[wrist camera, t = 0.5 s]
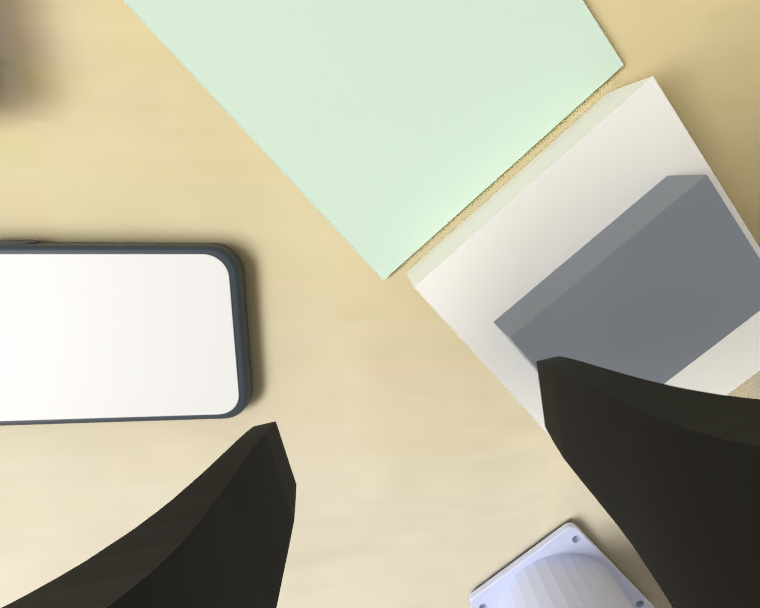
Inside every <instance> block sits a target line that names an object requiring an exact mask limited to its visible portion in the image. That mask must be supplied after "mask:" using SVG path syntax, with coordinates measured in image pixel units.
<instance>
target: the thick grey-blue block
mask: <svg viewBox="0 0 760 608" xmlns="http://www.w3.org/2000/svg"><path fill="white" fill-rule="evenodd" d="M759 311H760V258H759V257H758V255H757V254H756V252H755V250H754V249H753V247H752V246H751V244H750V243H749V241H748V239H747V238H746V236H745V235H744V233H743V231H742V230H741V228H740V227H739V225H738V223H737V222H736V220H735V219H734V217H733V215H732V214H731V212H730V211H729V209H728V207H727V206H726V204H725V203H724V201H723V200H722V198H721V196H720V195H719V193H718V192H717V190H716V188H715V187H714V185H713V184H712V182H711V180H710V179H709V177H708V176H707V175H675V176H666V177H665V178H664V179H663V180H662V181H660V182H659V183H658V184H657V185H656V186H654V187H653V188H652V189H651V190H650V191H648V192H647V193H646V194H645V195H644V196H642V197H641V198H640V199H639V200H638V201H637V202H635V203H634V204H633V205H632V206H631V207H629V208H628V209H627V210H626V211H625V212H623V213H622V214H621V215H620V216H619V217H618V218H616V219H615V220H614V221H613V222H612V223H610V224H609V225H608V226H607V227H606V228H604V229H603V230H602V231H601V232H600V233H598V234H597V235H596V236H595V237H594V238H593V239H591V240H590V241H589V242H588V243H587V244H585V245H584V246H583V247H582V248H581V249H579V250H578V251H577V252H576V253H575V254H574V255H572V256H571V257H570V258H569V259H568V260H566V261H565V262H564V263H563V264H562V265H560V266H559V267H558V268H557V269H556V270H554V271H553V272H552V273H551V274H550V275H549V276H547V277H546V278H545V279H544V280H543V281H541V282H540V283H539V284H538V285H537V286H535V287H534V288H533V289H532V290H531V291H530V292H528V293H527V294H526V295H525V296H524V297H522V298H521V299H520V300H519V301H518V302H516V303H515V304H514V305H513V306H512V307H510V308H509V309H508V310H507V311H506V312H505V313H503V314H502V315H501V316H500V317H499V318H497V319H496V320H495V321H494V323H495V325H496V326H497V327H498V328H499V329H500V330H501V332H502V333H503V334H504V335H505V336H506V337H507V338H508V340H509V341H510V342H511V343H512V344H513V345H514V346H515V348H516V349H517V350H518V351H519V352H520V353H521V354H522V356H523V357H524V358H525V359H526V360H527V361H528V362H529V364H530V365H531V366H532V367H533V368H534V369H535V370H536V372H537V373H538V370H537V363H536V361H539V360H544V359H548V358H552V357H557V356H561V357H567V358H571V359H575V360H578V361H582V362H585V363H589V364H592V365H596V366H599V367H602V368H606V369H609V370H612V371H616V372H619V373H623V374H626V375H630V376H634V377H638V378H641V379H645V380H649V381H653V382H658V383H662V384H664V383H666V382H667V381H668V380H670V379H671V378H672V377H674V376H675V375H676V374H678V373H679V372H680V371H682V370H683V369H684V368H685V367H687V366H688V365H689V364H691V363H692V362H693V361H695V360H696V359H697V358H699V357H700V356H701V355H702V354H704V353H705V352H706V351H708V350H709V349H710V348H712V347H713V346H714V345H716V344H717V343H718V342H719V341H721V340H722V339H723V338H725V337H726V336H727V335H729V334H730V333H731V332H733V331H734V330H735V329H737V328H738V327H739V326H740V325H742V324H743V323H744V322H746V321H747V320H748V319H750V318H751V317H752V316H754V315H755V314H756V313H757V312H759Z"/></svg>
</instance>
